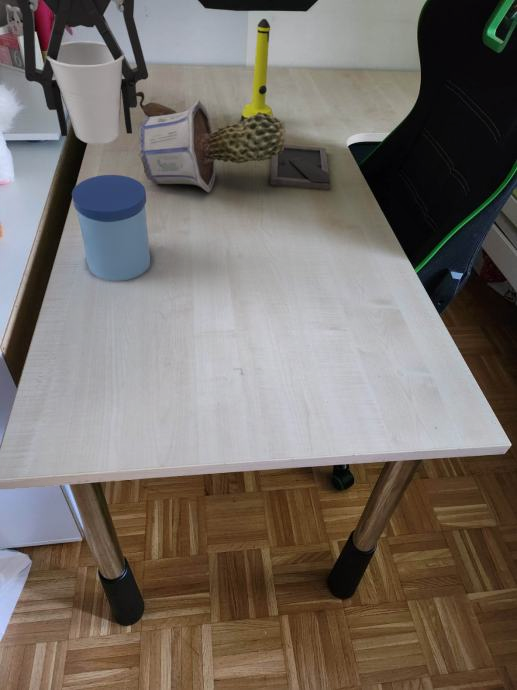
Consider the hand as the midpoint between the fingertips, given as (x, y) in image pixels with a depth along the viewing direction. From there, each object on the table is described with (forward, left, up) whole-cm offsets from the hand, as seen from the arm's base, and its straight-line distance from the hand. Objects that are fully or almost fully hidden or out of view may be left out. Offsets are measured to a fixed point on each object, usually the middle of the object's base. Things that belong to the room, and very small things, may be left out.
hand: (97, 130), depth 74 cm
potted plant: (+22, +27, -25) cm, 43 cm away
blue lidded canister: (0, +2, -25) cm, 25 cm away
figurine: (+13, +58, -25) cm, 65 cm away
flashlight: (+40, +57, -25) cm, 74 cm away
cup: (0, 0, -1) cm, 1 cm away
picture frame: (+44, +32, -25) cm, 60 cm away
